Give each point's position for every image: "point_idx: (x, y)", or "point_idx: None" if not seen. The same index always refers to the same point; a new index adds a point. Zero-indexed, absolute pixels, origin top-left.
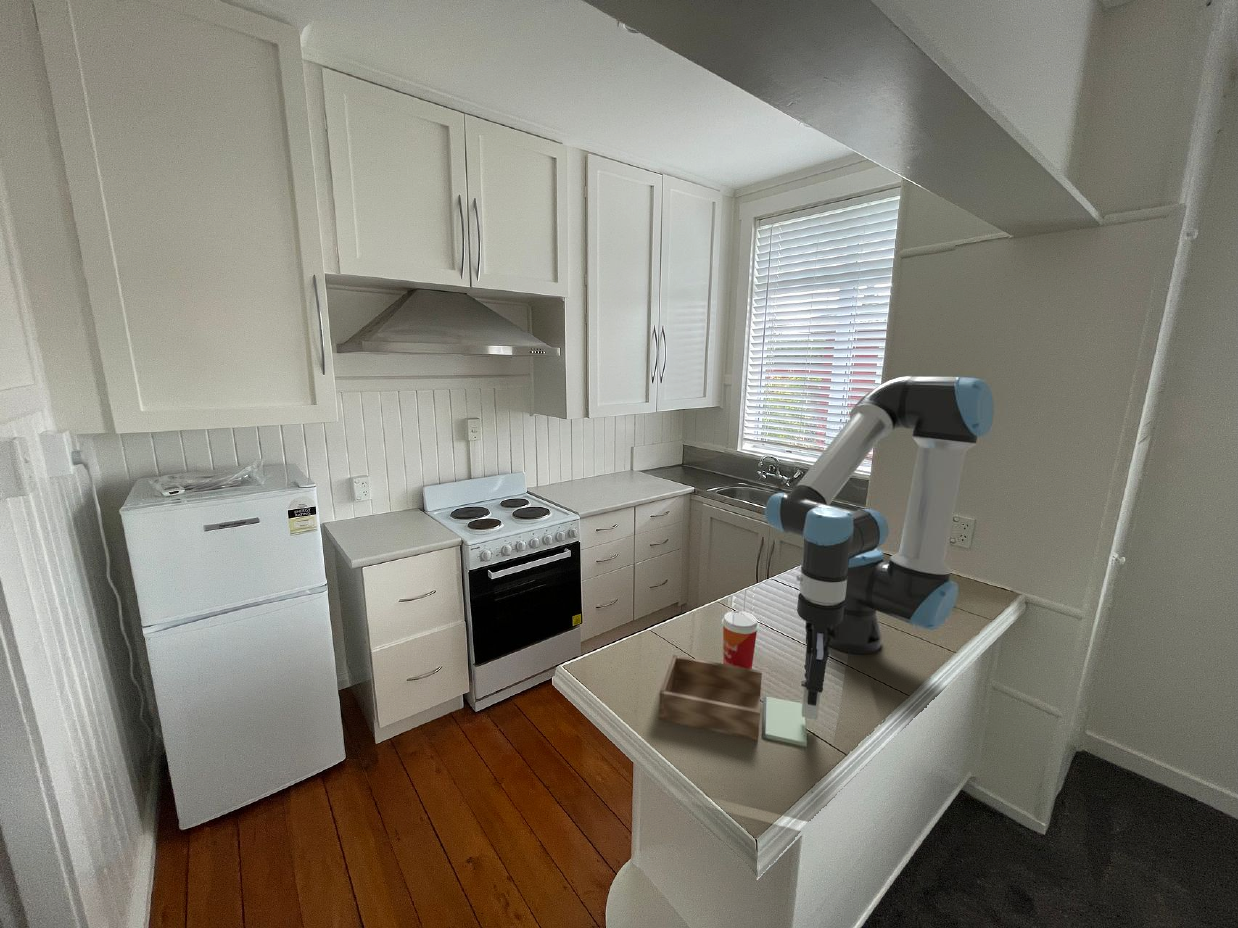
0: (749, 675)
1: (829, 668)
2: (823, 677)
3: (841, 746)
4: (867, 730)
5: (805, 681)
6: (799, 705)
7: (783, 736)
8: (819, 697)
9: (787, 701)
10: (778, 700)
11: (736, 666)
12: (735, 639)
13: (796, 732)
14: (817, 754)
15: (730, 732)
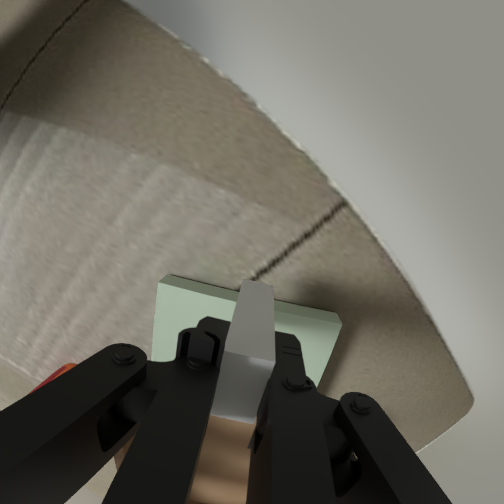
0: (128, 442)
1: (7, 149)
2: (438, 490)
3: (313, 203)
4: (233, 97)
5: (222, 415)
6: (169, 298)
7: (317, 377)
8: (273, 330)
9: (157, 328)
10: (159, 352)
11: (116, 466)
12: None
13: (300, 342)
14: (346, 284)
15: None
